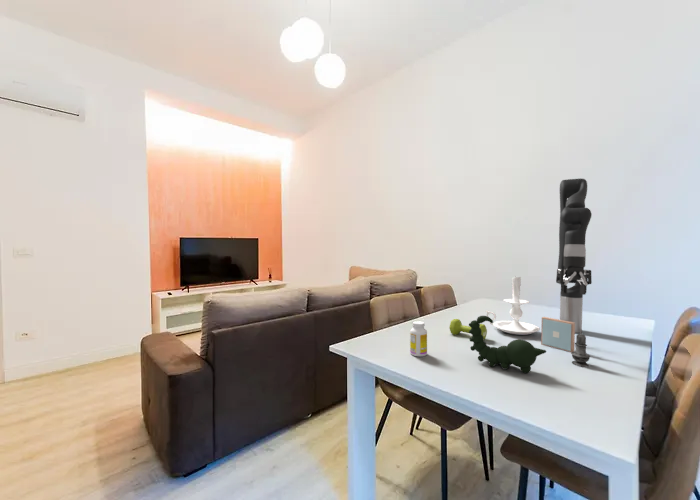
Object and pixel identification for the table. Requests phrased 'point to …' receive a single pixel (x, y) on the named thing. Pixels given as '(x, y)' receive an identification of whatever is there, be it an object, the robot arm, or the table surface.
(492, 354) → the toy figurine
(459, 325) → the dumbbell
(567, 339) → the picture frame
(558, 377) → the table surface
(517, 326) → the candlestick
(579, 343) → the grey ridged upright piece
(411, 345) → the supplement bottle
